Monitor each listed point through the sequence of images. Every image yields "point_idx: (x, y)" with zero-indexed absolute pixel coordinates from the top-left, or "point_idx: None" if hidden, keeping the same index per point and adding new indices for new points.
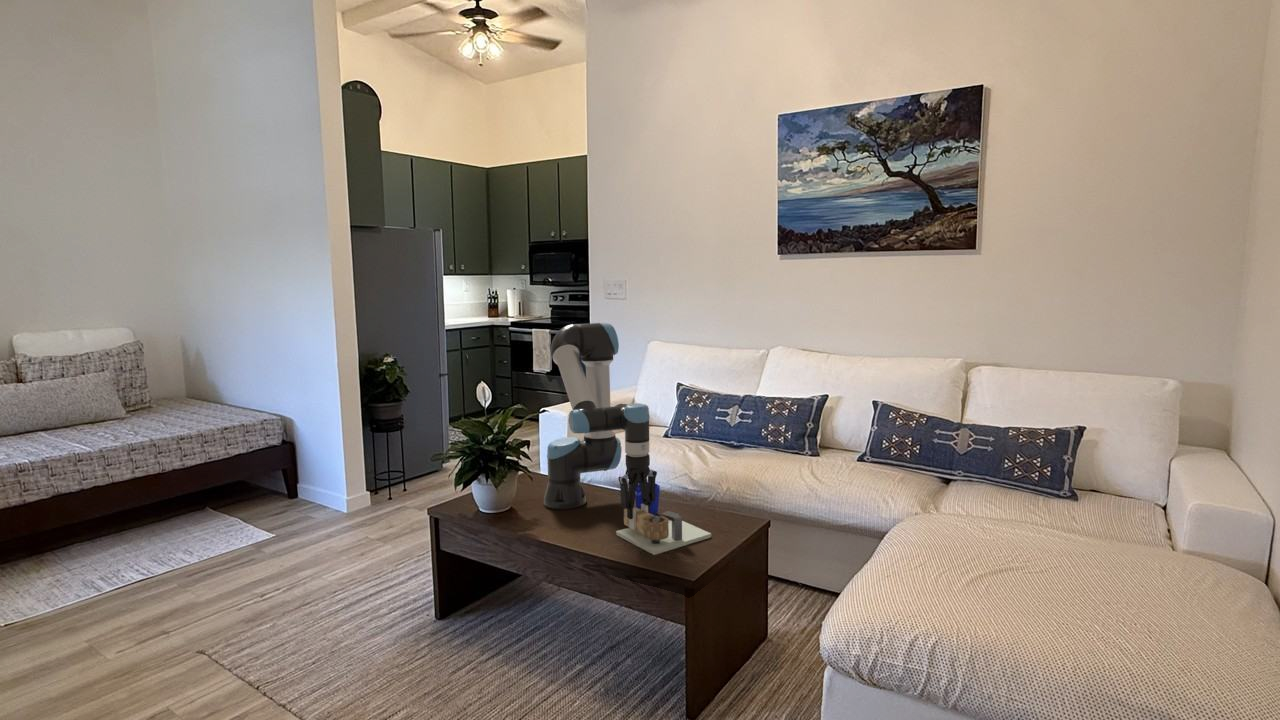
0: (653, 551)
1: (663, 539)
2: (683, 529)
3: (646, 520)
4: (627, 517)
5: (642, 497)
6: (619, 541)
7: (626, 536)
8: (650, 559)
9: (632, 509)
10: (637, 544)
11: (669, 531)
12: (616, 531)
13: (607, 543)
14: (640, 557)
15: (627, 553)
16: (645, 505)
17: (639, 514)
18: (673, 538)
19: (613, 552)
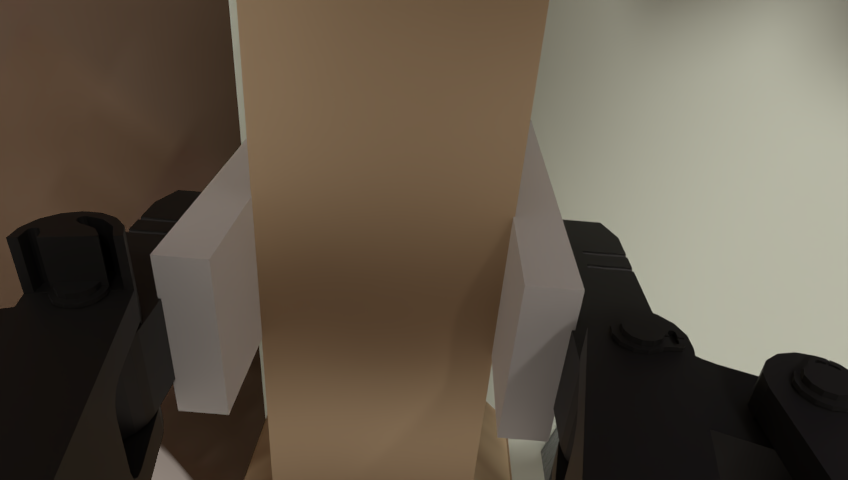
0: None
1: (491, 384)
2: (830, 348)
3: None
4: (169, 195)
5: (579, 444)
6: (168, 56)
7: (239, 99)
8: (215, 470)
9: (173, 371)
10: None
11: (695, 298)
12: None
13: (19, 8)
14: (169, 415)
15: None
16: (525, 404)
17: (313, 374)
18: (555, 439)
19: (2, 227)
